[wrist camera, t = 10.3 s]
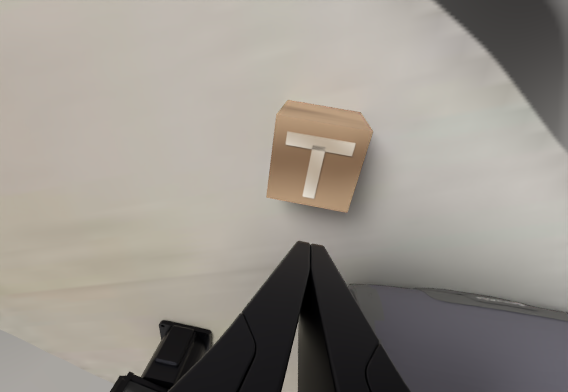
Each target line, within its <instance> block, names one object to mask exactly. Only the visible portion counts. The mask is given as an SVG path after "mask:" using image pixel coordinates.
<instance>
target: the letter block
mask: <svg viewBox="0 0 568 392" xmlns="http://www.w3.org/2000/svg"><path fill="white" fill-rule="evenodd" d="M372 134H373V130H372V129H371V127H370V126H369V124H368V123H367V121H366V120H365V118H364V117H363V115H362V114H361V112H355V111H349V110H344V109H338V108H332V107H326V106H320V105H314V104H308V103H302V102H297V101H291V100H287V102H286V103H285V104H284V106H283V107H282V108H281V109H280V111H279V112H278V113H277V115H276V122H275V131H274V139H273V147H272V155H271V163H270V172H269V180H268V188H267V196H266V197H267V198H272V199H277V200H283V201H288V202H293V203H299V204H304V205H309V206H314V207H320V208H325V209H330V210H335V211H341V212H346V213H347V212H348V209H349V206H350V203H351V200H352V196H353V193H354V190H355V187H356V184H357V181H358V178H359V174H360V171H361V168H362V165H363V162H364V159H365V156H366V152H367V149H368V146H369V143H370V140H371V137H372Z"/></svg>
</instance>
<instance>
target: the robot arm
mask: <svg viewBox="0 0 568 392" xmlns="http://www.w3.org/2000/svg"><path fill="white" fill-rule="evenodd" d="M298 320H299V330H298V392H411V390H410V389H409V387H408V386H407V384H406V383H405V381H404V380H403V378H402V377H401V375H400V373H399V372H398V370H397V369H396V367H395V365H394V364H393V362H392V361H391V359H390V357H389V356H388V354H387V352H386V350H385V349H384V347H383V345H382V344H379V342H380V341H379V339H378V337H377V335H376V334H375V332H374V330H373V329H372V327H371V325H370V324H369V322H368V320H367V319H366V317H365V315H364V313H363V312H362V310H361V308H360V307H359V305H358V303H357V302H356V300H355V298H354V296H353V295H352V293H351V291H350V290H349V288H348V286H347V285H346V283H345V281H344V280H343V278H342V276H341V274H340V273H339V271H338V269H337V268H336V266H335V264H334V263H333V261H332V259H331V258H330V256H329V254H328V252H327V251H326V249H325V247H324V246H322V245H317V244H311V245H310V244H309V243H307V242H302V241H298V242H296V244H295V245H294V246H293V247H292V249H291V250H290V251H289V253H288V254H287V255H286V256H285V258H284V259H283V260H282V261H281V263H280V264H279V265H278V266H277V268H276V269H275V270H274V272H273V273H272V274H271V275H270V277H269V278H268V279H267V280H266V282H265V283H264V284H263V285H262V287H261V288H260V289H259V291H258V292H257V293H256V294H255V296H254V297H253V298H252V299H251V301H250V302H249V303H248V304H247V306H246V307H245V308H244V310H243V311H242V313H241V314H239V316H238V317H237V318H236V319H235V321H234V322H233V323H232V324H231V326H230V327H229V328H228V329H227V330H226V332H225V333H224V334H223V335H222V336H221V337H220V339H219V340H218V341H217V342H216V343H215V344H214V345H213V346H212V347H211V332H210V331H208V330H204V329H200V328H195V327H191V326H186V325H181V324H177V323H172V322H168V321H161V322H160V324H159V328H160V335H161V342H160V344H159V345H158V347H157V349H156V351H155V353H154V354H153V356H152V358H151V360H150V361H149V363H148V365H147V367H146V369H145V370H144V372H143V374H142V376H141V377H139V376H136V375H134V373H132V372H129V373H128V374H127V376H126V375H125V376H119V378H118V380H117V381H116V383H115V384H114V386H113V388H112V389H111V391H110V392H281V391H282V386H283V382H284V378H285V374H286V370H287V366H288V362H289V357H290V353H291V349H292V345H293V341H294V337H295V332H296V328H297V324H298Z"/></svg>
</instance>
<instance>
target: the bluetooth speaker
mask: <svg viewBox="0 0 568 392" xmlns="http://www.w3.org/2000/svg"><path fill="white" fill-rule="evenodd" d="M348 288H349V290H350V291H351V293H352V295H353V296H354V298H355V300H356V302H357V303H358V305H359V307H360V308H361V310H362V312H363V313H364V315H365V317H366V319H367V320H368V322H369V324H370V325H371V327H372V329H373V330H374V332H375V334H376V335H377V337H378V339H379V341H380V342H379V344H382V345H383V347H384V349H385V350H386V352H387V354H388V356H389V357H390V359H391V361H392V362H393V364H394V365H395V367H396V369H397V370H398V372H399V373H400V375H401V377H402V378H403V380H404V381H405V383H406V384H407V386H408V387H409V389H410V390H411V392H568V313H564V312H558V311H553V310H548V309H542V308H537V307H531V306H528V305H525V304H522V303H517V302H512V301H509V300H504V299H500V298H495V297H490V296H484V295H477V294H471V293H465V292H458V291H452V290H446V289H434V288H415V289H407V288H399V287H390V286H381V285H364V284H350V285H349V286H348Z"/></svg>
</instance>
